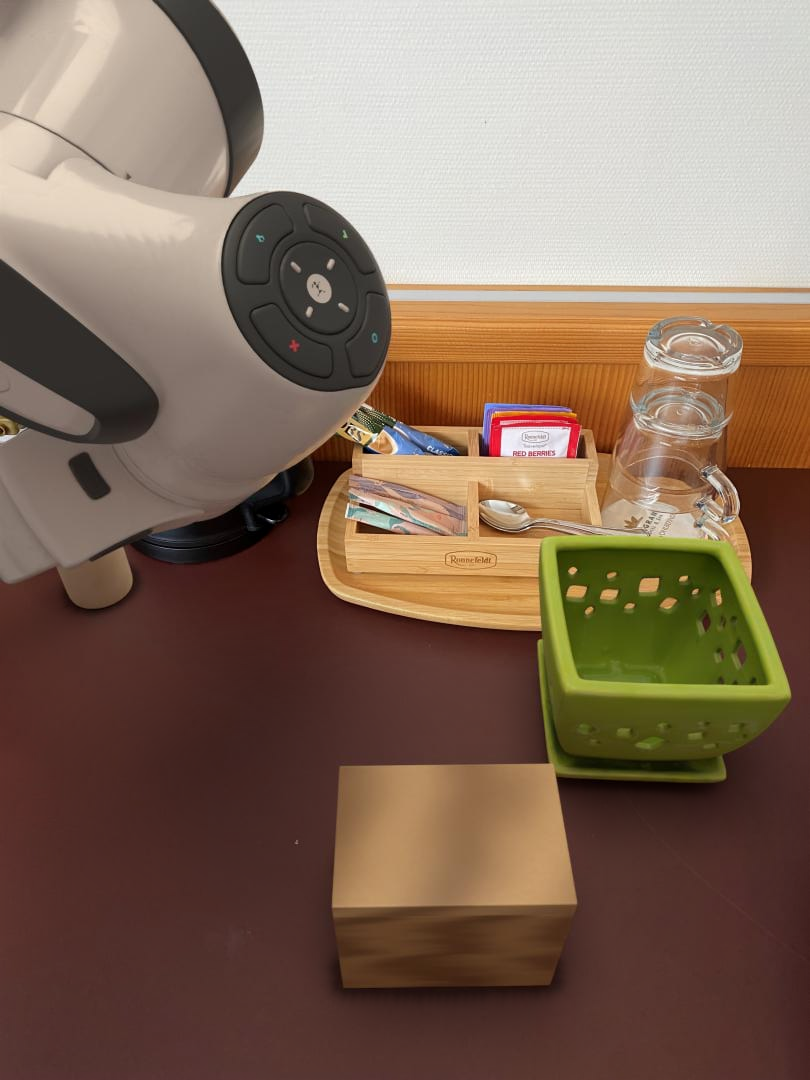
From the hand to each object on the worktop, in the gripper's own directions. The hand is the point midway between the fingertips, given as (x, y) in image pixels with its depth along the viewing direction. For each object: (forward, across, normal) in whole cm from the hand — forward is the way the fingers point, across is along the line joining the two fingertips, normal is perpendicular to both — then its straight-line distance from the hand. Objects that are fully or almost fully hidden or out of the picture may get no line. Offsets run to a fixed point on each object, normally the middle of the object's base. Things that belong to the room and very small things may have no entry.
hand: (130, 496), depth 52 cm
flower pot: (-8, -20, +32) cm, 39 cm away
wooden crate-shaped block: (-8, 0, +32) cm, 33 cm away
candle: (+21, 0, +4) cm, 21 cm away
